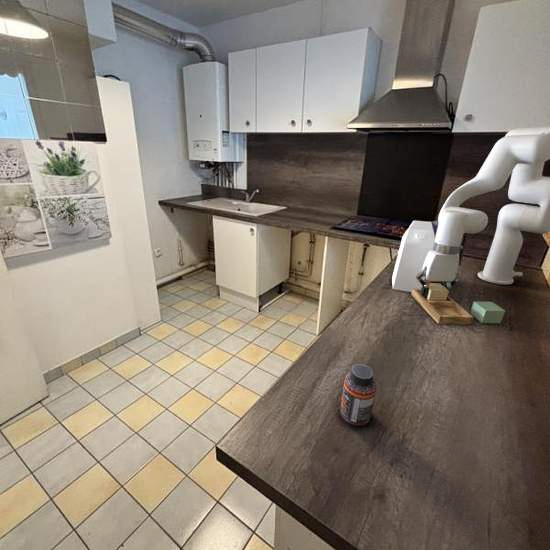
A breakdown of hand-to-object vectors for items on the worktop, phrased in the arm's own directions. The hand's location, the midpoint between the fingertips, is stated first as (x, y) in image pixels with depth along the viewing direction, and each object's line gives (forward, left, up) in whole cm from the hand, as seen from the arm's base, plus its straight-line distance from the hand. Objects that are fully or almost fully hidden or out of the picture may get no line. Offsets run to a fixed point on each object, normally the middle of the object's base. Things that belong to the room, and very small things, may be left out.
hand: (433, 296), depth 103 cm
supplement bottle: (+40, +50, -2) cm, 64 cm away
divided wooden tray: (0, +5, -2) cm, 5 cm away
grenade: (-11, -19, -2) cm, 22 cm away
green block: (-12, +11, -2) cm, 16 cm away
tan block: (0, 0, -1) cm, 1 cm away
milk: (+3, -13, -2) cm, 14 cm away
